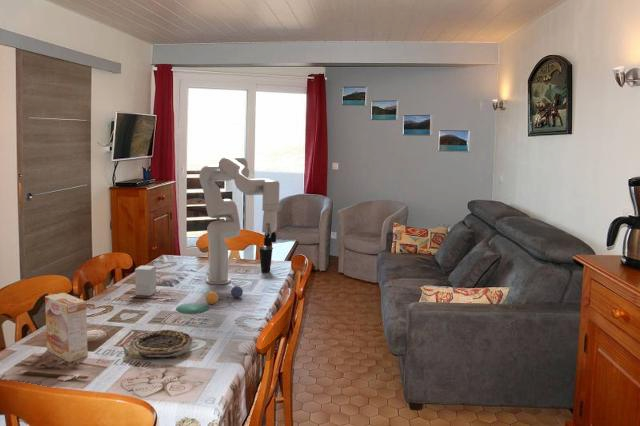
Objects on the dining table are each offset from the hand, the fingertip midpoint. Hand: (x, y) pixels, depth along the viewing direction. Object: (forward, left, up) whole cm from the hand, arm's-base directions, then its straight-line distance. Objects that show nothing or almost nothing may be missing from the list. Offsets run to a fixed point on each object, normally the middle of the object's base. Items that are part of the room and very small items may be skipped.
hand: (270, 244), depth 253 cm
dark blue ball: (-11, -10, -23) cm, 28 cm away
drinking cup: (-39, +32, -26) cm, 57 cm away
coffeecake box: (+2, -93, -26) cm, 97 cm away
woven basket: (+21, -68, -27) cm, 76 cm away
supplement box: (-44, -38, -26) cm, 64 cm away
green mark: (-11, -34, -26) cm, 44 cm away
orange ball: (-11, -24, -23) cm, 35 cm away
